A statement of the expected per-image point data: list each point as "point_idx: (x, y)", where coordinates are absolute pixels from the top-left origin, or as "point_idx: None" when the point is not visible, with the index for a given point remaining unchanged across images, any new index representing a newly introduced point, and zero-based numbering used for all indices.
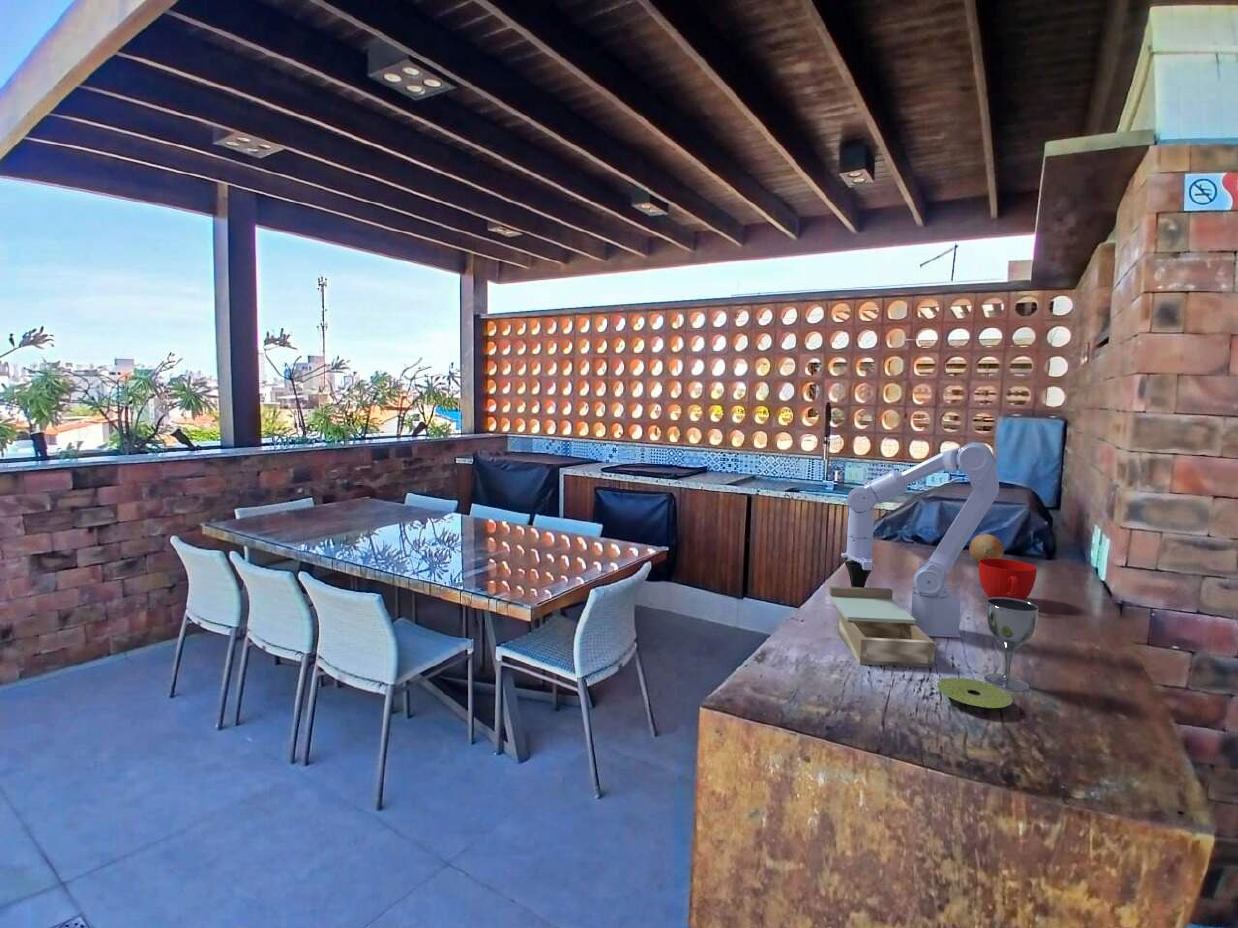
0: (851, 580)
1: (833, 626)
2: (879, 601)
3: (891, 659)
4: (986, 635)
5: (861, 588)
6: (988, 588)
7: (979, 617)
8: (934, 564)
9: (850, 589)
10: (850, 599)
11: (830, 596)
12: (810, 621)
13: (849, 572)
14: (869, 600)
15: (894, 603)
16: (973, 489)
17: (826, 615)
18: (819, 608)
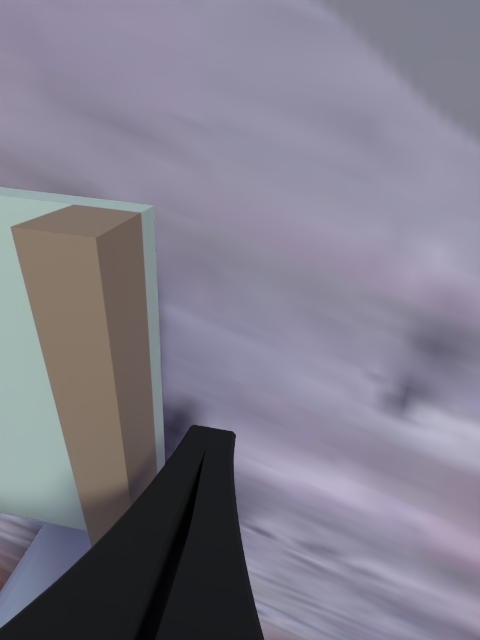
0: (174, 504)
1: (82, 165)
2: (55, 473)
3: None
4: None
5: (98, 483)
6: None
7: (261, 627)
8: None
9: (62, 404)
10: (34, 338)
11: (91, 204)
12: (142, 14)
13: (183, 597)
14: (58, 438)
15: (46, 513)
16: None
17: (276, 192)
18: (425, 193)
